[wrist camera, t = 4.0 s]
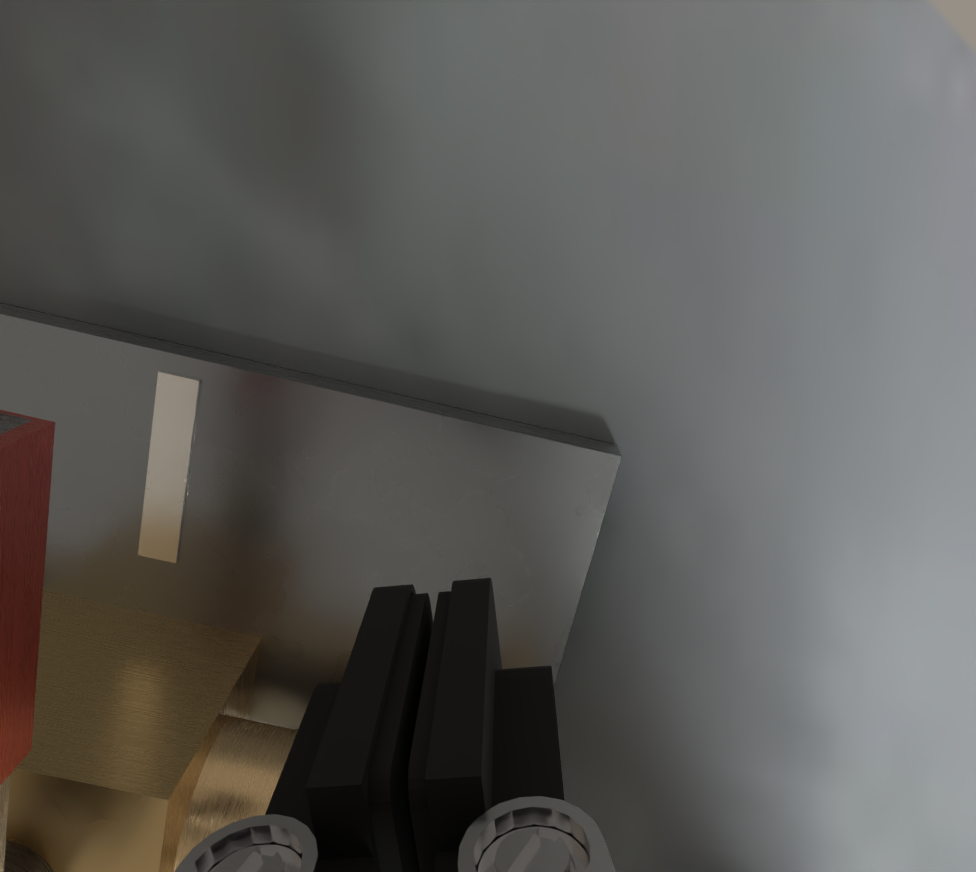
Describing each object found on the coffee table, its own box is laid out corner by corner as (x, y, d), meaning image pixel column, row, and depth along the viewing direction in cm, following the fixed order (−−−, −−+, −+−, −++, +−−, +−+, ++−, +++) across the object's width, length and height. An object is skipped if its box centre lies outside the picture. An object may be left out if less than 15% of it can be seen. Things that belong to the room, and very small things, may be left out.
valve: (616, 444, 20) (701, 636, 11) (494, 863, 24) (484, 1253, 15) (-157, 266, 20) (-731, 319, 10) (-154, 729, 23) (-568, 1055, 14)
